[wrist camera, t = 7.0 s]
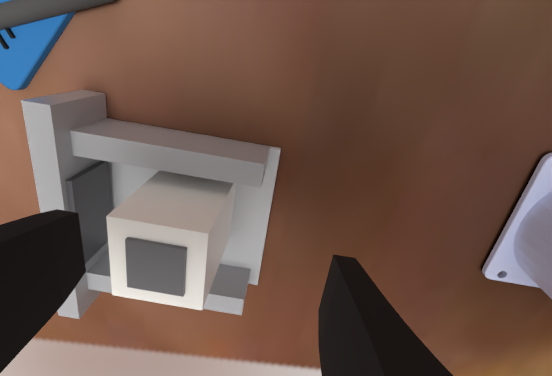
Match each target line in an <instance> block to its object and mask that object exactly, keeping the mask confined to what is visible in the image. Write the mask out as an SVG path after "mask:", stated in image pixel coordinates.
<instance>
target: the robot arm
mask: <svg viewBox="0 0 552 376" xmlns="http://www.w3.org/2000/svg"><path fill="white" fill-rule="evenodd" d="M501 271H502V272H501ZM85 272H86V267H85V260H84V252H83V244H82V237H81V229H80V222H79V214H78V213H76V212H70V211H64V210H58V209H56V210H52V211H47V212H43V213H39V214H35V215H32V216H28V217H25V218H22V219H18V220H15V221H12V222H8V223H5V224H2V225H0V373H1V372H2V371H3V370H4V368H5V367H6V366H7V365H8V364H9V363H10V362H11V361H12V360H13V359H14V358H15V356H16V355H17V354H18V353H19V352H20V351H21V350H22V349H23V348H24V347H25V346H26V345H27V343H28V342H29V341H30V340H31V339H32V338H33V337H34V336H35V335H36V334H37V333H38V331H39V330H40V329H41V328H42V327H43V326H44V325H45V324H46V323H47V321H48V320H49V319H50V318H51V317H52V316H53V315H54V314H55V313H56V311H57V310H58V309H59V308H60V307H61V306H62V305H63V303H64V302H65V301H66V299H67V298H68V297H69V295H70V294H71V293H72V291H73V290H74V288H75V287H76V286H77V284H78V283H79V281H80V280H81V278H82V277H83V275H84V274H85ZM499 272H501V273H499ZM482 273H483V274H484V276H485V277H486V278H488V279H491V280H497V281H503V282H509V283H515V284H520V285H526V286H532V287H538V288H541V289H542V290H543V291H544V292H545V293H546V294H547V295H548V296H549V297H550V298H551V299H552V153H549V154H546V155H545V156H543V158H542V159H541V160H540V162H539V164H538V166H537V168H536V170H535V171H534V173H533V175H532V177H531V179H530V181H529V183H528V184H527V186H526V188H525V190H524V192H523V194H522V196H521V197H520V199H519V201H518V203H517V205H516V207H515V209H514V210H513V212H512V214H511V216H510V218H509V220H508V222H507V224H506V225H505V227H504V229H503V231H502V233H501V235H500V237H499V238H498V240H497V242H496V244H495V246H494V248H493V250H492V251H491V253H490V255H489V257H488V259H487V261H486V263H485V265H484V266H483V268H482ZM498 273H499V274H498ZM319 354H320V363H321V372H322V376H453V375H452V374H451V373H450V372H449V371H448V370H447V369H446V368H445V367H444V366H443V365H442V364H441V363H440V361H439V360H438V359H437V358H436V357H435V356H434V355H433V354H432V353H431V352H430V350H429V349H428V348H427V347H426V346H425V345H424V344H423V343H422V341H421V340H420V339H419V338H418V337H417V336H416V335H415V334H414V332H413V331H412V330H411V329H410V328H409V327H408V325H407V324H406V323H405V322H404V321H403V319H402V318H401V317H400V316H399V314H398V313H397V312H396V311H395V309H394V308H393V307H392V306H391V304H390V303H389V302H388V301H387V299H386V298H385V297H384V295H383V294H382V293H381V292H380V290H379V289H378V288H377V286H376V285H375V284H374V282H373V281H372V280H371V278H370V277H369V276H368V274H367V273H366V272H365V270H364V269H363V268H362V266H361V265H360V264H359V262H358V261H357V260H356V258H351V257H345V256H339V255H333V258H332V262H331V266H330V269H329V273H328V277H327V280H326V284H325V288H324V292H323V295H322V299H321V303H320V307H319Z"/></svg>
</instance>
